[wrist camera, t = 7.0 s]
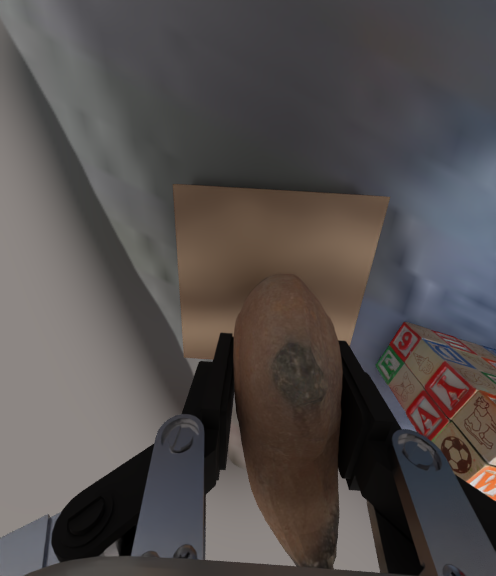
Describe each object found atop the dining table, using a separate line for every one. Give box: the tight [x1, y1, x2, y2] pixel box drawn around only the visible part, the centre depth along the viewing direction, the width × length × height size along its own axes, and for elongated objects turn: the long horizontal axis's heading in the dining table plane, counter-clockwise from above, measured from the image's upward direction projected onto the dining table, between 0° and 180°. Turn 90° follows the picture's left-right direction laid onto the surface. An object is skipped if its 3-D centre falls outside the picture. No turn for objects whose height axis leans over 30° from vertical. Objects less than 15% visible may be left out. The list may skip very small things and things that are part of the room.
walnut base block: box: [173, 184, 390, 359], centre depth 20 cm, size 14×14×5 cm
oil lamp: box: [233, 274, 343, 569], centre depth 9 cm, size 9×4×8 cm, turn 10°
